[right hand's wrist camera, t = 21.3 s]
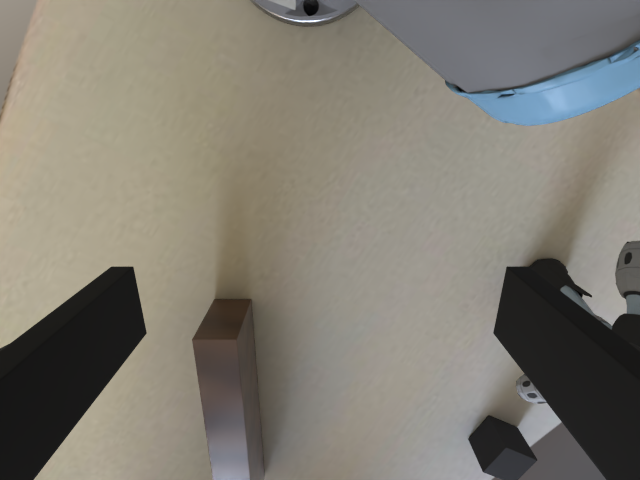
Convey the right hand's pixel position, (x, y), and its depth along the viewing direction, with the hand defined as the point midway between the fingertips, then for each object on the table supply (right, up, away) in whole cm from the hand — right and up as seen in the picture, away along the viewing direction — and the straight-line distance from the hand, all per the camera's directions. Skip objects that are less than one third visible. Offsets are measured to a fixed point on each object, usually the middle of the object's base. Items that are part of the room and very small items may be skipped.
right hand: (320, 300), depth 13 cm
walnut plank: (-11, -19, +36) cm, 42 cm away
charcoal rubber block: (+25, -25, +38) cm, 52 cm away
